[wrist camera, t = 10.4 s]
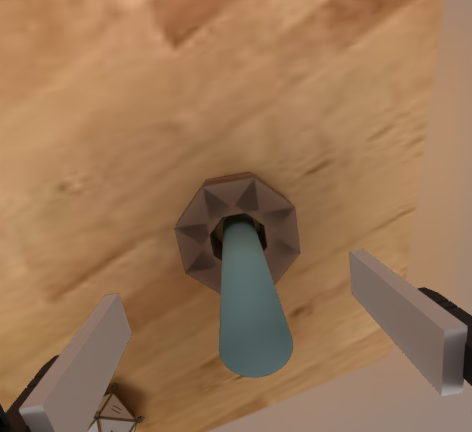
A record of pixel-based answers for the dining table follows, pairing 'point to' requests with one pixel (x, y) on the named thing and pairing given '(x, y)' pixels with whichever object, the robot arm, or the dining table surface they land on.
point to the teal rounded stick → (250, 305)
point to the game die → (113, 416)
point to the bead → (231, 203)
